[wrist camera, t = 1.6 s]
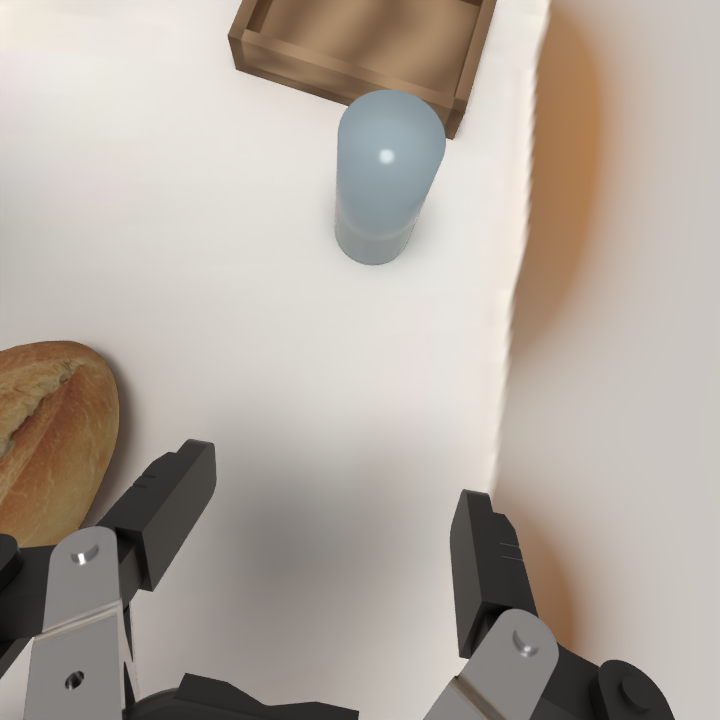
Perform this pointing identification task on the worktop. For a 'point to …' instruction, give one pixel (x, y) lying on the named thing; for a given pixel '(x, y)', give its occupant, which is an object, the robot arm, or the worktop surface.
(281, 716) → the robot arm
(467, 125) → the worktop surface
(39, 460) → the bread roll
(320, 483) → the worktop surface
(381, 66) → the tray
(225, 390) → the worktop surface
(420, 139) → the blue rounded capsule
